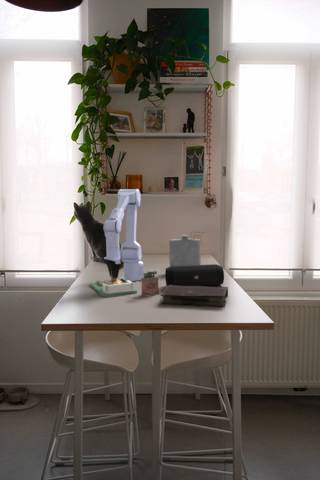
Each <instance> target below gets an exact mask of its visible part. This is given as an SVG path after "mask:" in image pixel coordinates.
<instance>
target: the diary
mask: <svg viewBox="0 0 320 480" xmlns="http://www.w3.org/2000/svg"><path fill="white" fill-rule="evenodd" d="M160 296H162V299H163V301H161V302H160V305H164V306H176V307H177V306H181V307H182V306H183V307H201V308H202V307H211V308H226V303H227V300H225V299H226V297H229V287H228V286H214V287H206V286H177V285H169V286H166V287H165V288H164V289H163V290H162V292H161V293H160Z"/></svg>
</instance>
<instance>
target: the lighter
mask: <svg viewBox="0 0 320 480" xmlns="http://www.w3.org/2000/svg"><path fill="white" fill-rule="evenodd" d="M159 278H160V276H159V275H158V271H157V270H152V271H149V270H148V271H146V272H145V271H144V277H142V278H141V280H140V281H141V296H142V297H146V296H147V297H148V296H155V295H160V291H159V288H160V287H159Z"/></svg>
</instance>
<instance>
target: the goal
mask: <svg viewBox="0 0 320 480" xmlns="http://www.w3.org/2000/svg"><path fill="white" fill-rule="evenodd" d="M133 289H134V283H133V281H129V280H126V281H125V282H124V283H123V284H113V285H107V284H106V283H102V290H103V292H105V293H106V294H110V293H119V292H128V291H133Z"/></svg>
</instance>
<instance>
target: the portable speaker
mask: <svg viewBox="0 0 320 480" xmlns="http://www.w3.org/2000/svg"><path fill="white" fill-rule="evenodd" d="M164 271H165V275H164V276H165V277H164V278H165V286H166V287H168V286H169V285H177V286H206V287H220V286H221V285H223V284H224V282H225V271H224V267H223V266H222V265H220V264H215V263H214V264H201V265H184V266H170V265H169V266H168V267H166V268H165V270H164Z"/></svg>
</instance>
